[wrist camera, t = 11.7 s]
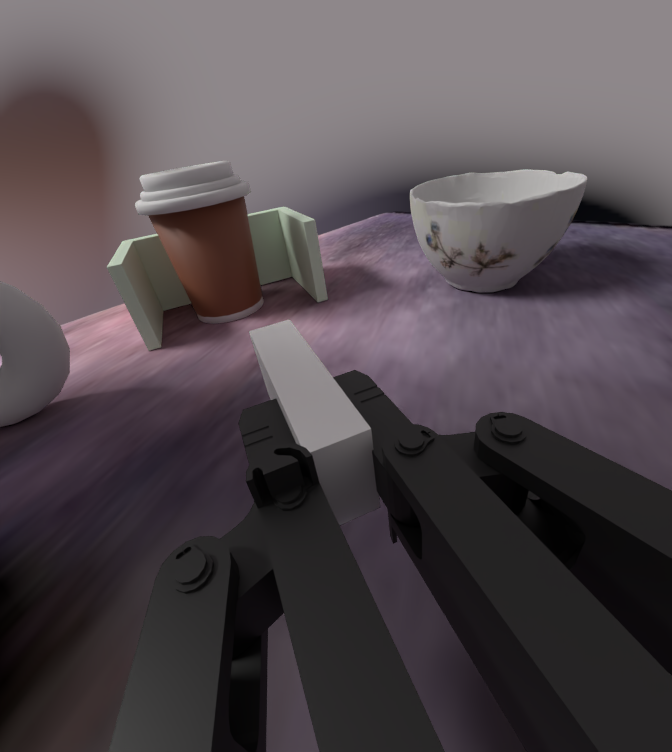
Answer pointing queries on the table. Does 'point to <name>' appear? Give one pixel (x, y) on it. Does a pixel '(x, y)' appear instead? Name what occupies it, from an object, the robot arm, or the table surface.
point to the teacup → (493, 223)
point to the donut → (29, 356)
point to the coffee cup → (206, 237)
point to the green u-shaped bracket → (165, 291)
